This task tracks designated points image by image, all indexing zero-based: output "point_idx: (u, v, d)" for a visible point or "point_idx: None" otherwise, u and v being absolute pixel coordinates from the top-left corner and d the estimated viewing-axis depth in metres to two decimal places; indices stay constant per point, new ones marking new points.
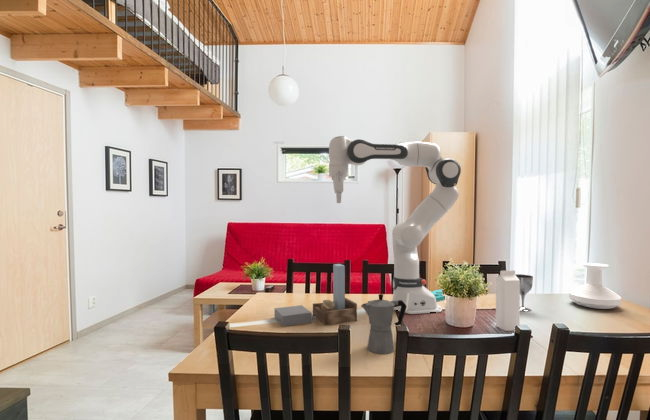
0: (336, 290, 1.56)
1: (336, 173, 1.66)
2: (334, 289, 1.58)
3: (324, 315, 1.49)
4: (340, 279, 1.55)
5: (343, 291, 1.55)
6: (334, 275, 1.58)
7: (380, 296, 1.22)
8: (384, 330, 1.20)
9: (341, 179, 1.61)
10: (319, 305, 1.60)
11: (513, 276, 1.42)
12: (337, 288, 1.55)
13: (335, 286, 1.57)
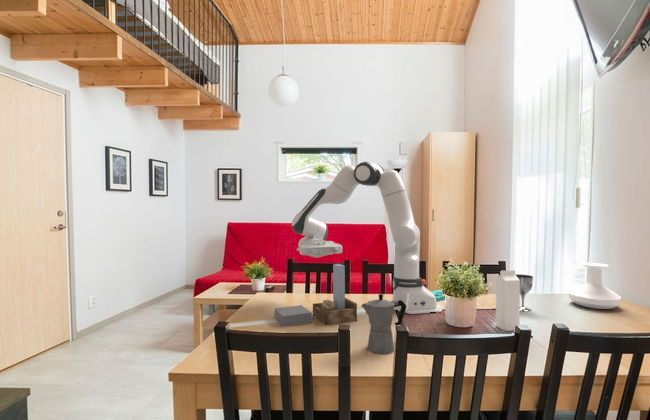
0: (336, 290, 1.56)
1: None
2: (334, 289, 1.58)
3: (324, 315, 1.49)
4: (340, 279, 1.55)
5: (343, 291, 1.55)
6: (334, 275, 1.58)
7: (380, 296, 1.22)
8: (384, 330, 1.20)
9: (299, 247, 1.74)
10: (319, 305, 1.60)
11: (513, 276, 1.42)
12: (337, 288, 1.55)
13: (335, 286, 1.57)
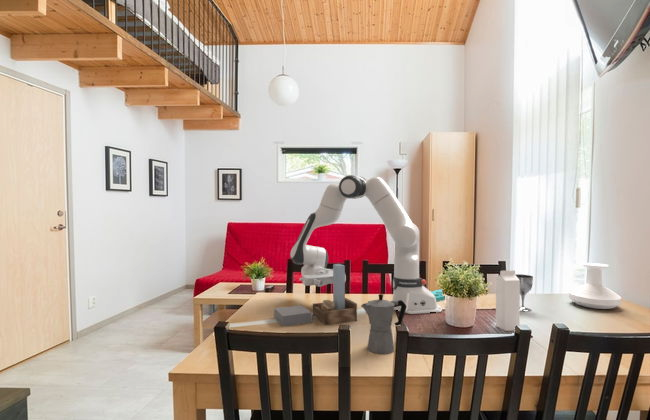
0: (336, 290, 1.56)
1: None
2: (334, 289, 1.58)
3: (324, 315, 1.49)
4: (340, 279, 1.55)
5: (343, 291, 1.55)
6: (334, 275, 1.58)
7: (380, 296, 1.22)
8: (384, 330, 1.20)
9: (302, 277, 1.71)
10: (319, 305, 1.60)
11: (513, 276, 1.42)
12: (337, 288, 1.55)
13: (335, 286, 1.57)
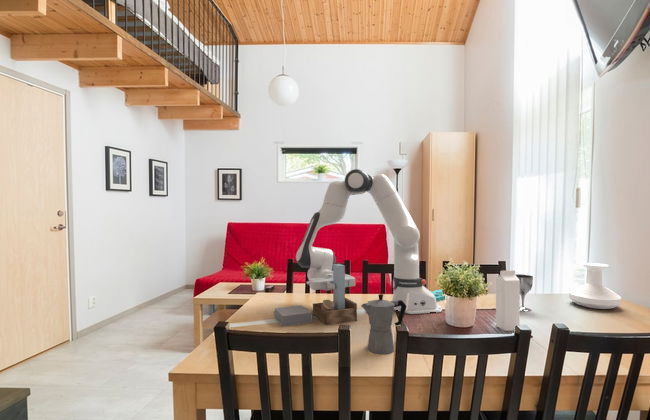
0: (336, 290, 1.56)
1: None
2: (334, 289, 1.58)
3: (324, 315, 1.49)
4: (340, 279, 1.55)
5: (343, 291, 1.55)
6: (334, 275, 1.58)
7: (380, 296, 1.22)
8: (384, 330, 1.20)
9: (309, 281, 1.62)
10: (319, 305, 1.60)
11: (513, 276, 1.42)
12: (337, 288, 1.55)
13: None
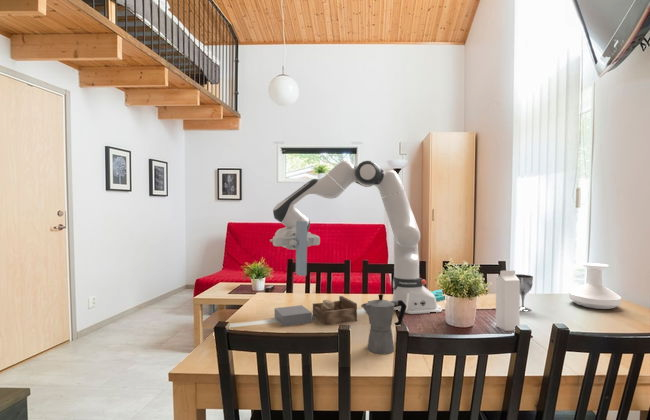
0: (298, 246, 1.53)
1: None
2: (297, 246, 1.55)
3: (324, 315, 1.49)
4: (302, 235, 1.52)
5: (305, 247, 1.52)
6: (297, 231, 1.55)
7: (380, 296, 1.22)
8: (384, 330, 1.20)
9: None
10: (319, 305, 1.60)
11: (513, 276, 1.42)
12: (299, 244, 1.52)
13: None
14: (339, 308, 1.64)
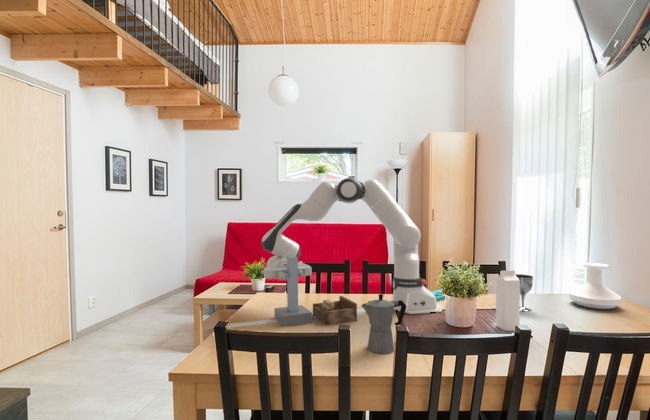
0: (289, 282, 1.52)
1: None
2: (288, 281, 1.54)
3: (324, 315, 1.49)
4: (292, 271, 1.51)
5: (296, 283, 1.52)
6: (287, 267, 1.54)
7: (380, 296, 1.22)
8: (384, 330, 1.20)
9: (264, 270, 1.58)
10: (319, 305, 1.60)
11: (513, 276, 1.42)
12: (290, 280, 1.51)
13: (288, 278, 1.53)
14: (339, 308, 1.64)
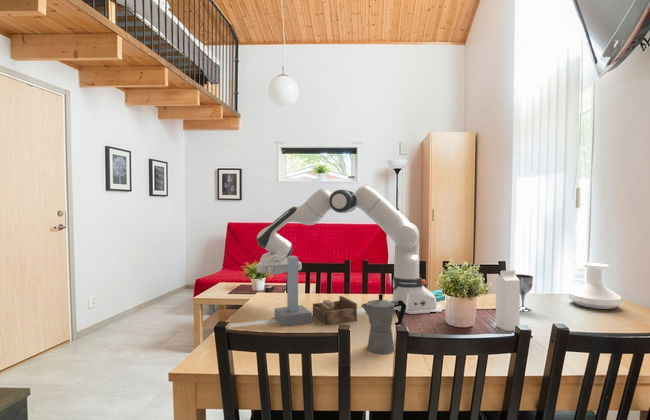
0: (289, 282, 1.52)
1: None
2: (288, 281, 1.54)
3: (324, 315, 1.49)
4: (293, 271, 1.51)
5: (296, 283, 1.52)
6: (288, 267, 1.54)
7: (380, 296, 1.22)
8: (384, 330, 1.20)
9: (257, 265, 1.70)
10: (319, 305, 1.60)
11: (513, 276, 1.42)
12: (290, 280, 1.51)
13: (288, 278, 1.53)
14: (339, 308, 1.64)
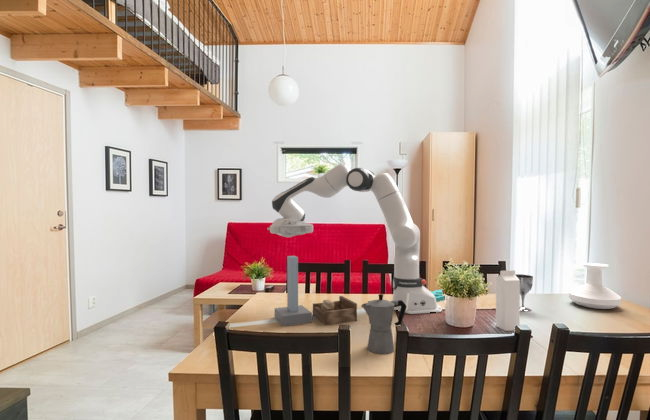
0: (289, 282, 1.52)
1: None
2: (288, 281, 1.54)
3: (324, 315, 1.49)
4: (293, 271, 1.51)
5: (296, 283, 1.52)
6: (288, 267, 1.54)
7: (380, 296, 1.22)
8: (384, 330, 1.20)
9: (270, 226, 1.74)
10: (319, 305, 1.60)
11: (513, 276, 1.42)
12: (290, 280, 1.51)
13: (288, 278, 1.53)
14: (339, 308, 1.64)
